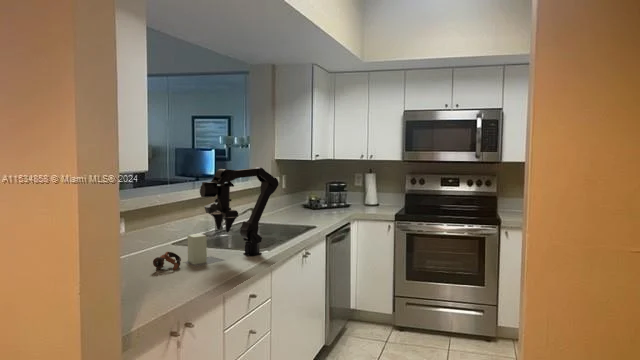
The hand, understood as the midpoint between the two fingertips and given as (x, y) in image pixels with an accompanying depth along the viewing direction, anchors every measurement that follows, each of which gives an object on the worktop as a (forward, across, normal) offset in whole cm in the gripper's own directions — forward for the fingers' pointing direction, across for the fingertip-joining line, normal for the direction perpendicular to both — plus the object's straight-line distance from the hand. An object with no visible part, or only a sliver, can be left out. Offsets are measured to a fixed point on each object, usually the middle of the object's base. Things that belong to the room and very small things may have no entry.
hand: (222, 230), depth 217 cm
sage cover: (+13, 0, -12) cm, 18 cm away
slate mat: (+13, 0, -9) cm, 16 cm away
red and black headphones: (+14, +2, -27) cm, 31 cm away
